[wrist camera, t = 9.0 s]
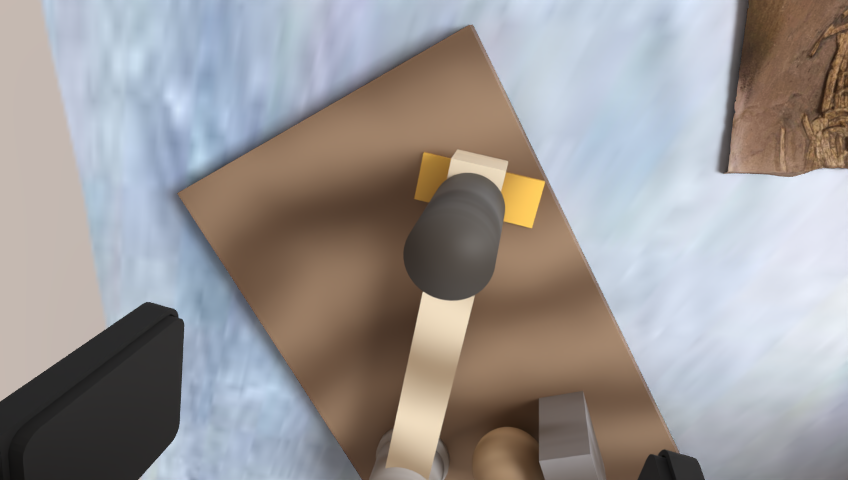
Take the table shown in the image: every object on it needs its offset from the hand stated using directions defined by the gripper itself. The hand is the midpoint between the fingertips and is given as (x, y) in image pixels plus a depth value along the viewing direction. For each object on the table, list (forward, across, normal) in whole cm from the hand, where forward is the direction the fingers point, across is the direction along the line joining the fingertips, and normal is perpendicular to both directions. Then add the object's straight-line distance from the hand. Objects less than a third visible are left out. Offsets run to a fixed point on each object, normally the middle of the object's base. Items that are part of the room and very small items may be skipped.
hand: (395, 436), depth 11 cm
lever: (+18, 0, +9) cm, 20 cm away
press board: (+20, +1, +8) cm, 22 cm away
